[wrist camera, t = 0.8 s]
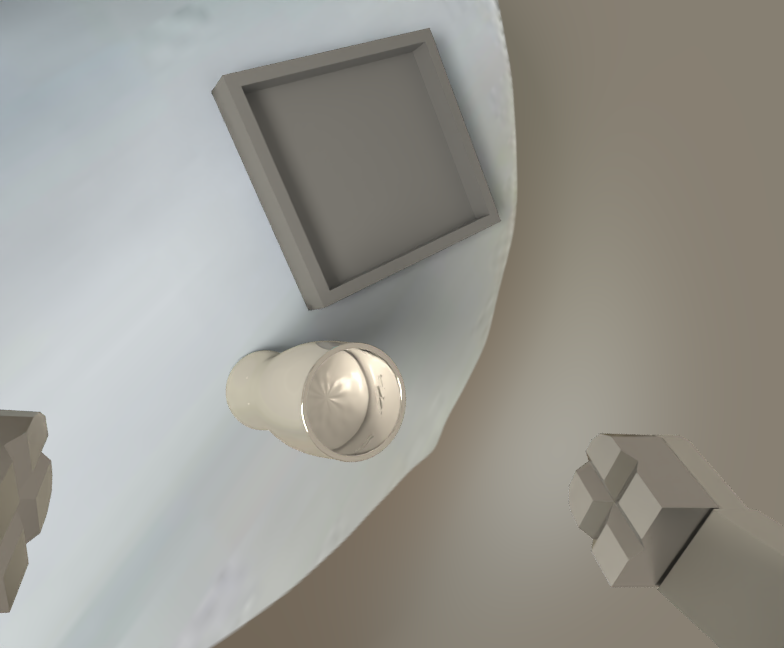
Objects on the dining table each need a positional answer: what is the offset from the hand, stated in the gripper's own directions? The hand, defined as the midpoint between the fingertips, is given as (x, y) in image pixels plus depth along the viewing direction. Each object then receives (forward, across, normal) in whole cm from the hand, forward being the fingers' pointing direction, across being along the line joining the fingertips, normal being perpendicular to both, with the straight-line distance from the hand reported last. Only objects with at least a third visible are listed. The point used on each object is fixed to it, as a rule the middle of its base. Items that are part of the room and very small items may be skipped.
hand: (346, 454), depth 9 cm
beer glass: (+30, -1, +23) cm, 38 cm away
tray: (+43, -8, +8) cm, 44 cm away
